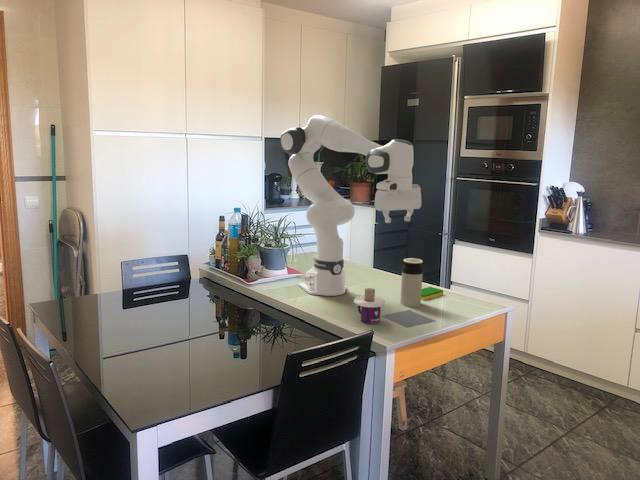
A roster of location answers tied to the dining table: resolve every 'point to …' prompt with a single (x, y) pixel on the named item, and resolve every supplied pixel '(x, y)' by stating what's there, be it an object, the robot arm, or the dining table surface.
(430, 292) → the dish sponge
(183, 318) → the dining table surface
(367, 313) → the cup
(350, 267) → the dining table surface
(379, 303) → the cover lid
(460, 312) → the dining table surface
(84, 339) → the dining table surface
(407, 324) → the drying mat
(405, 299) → the travel mug
